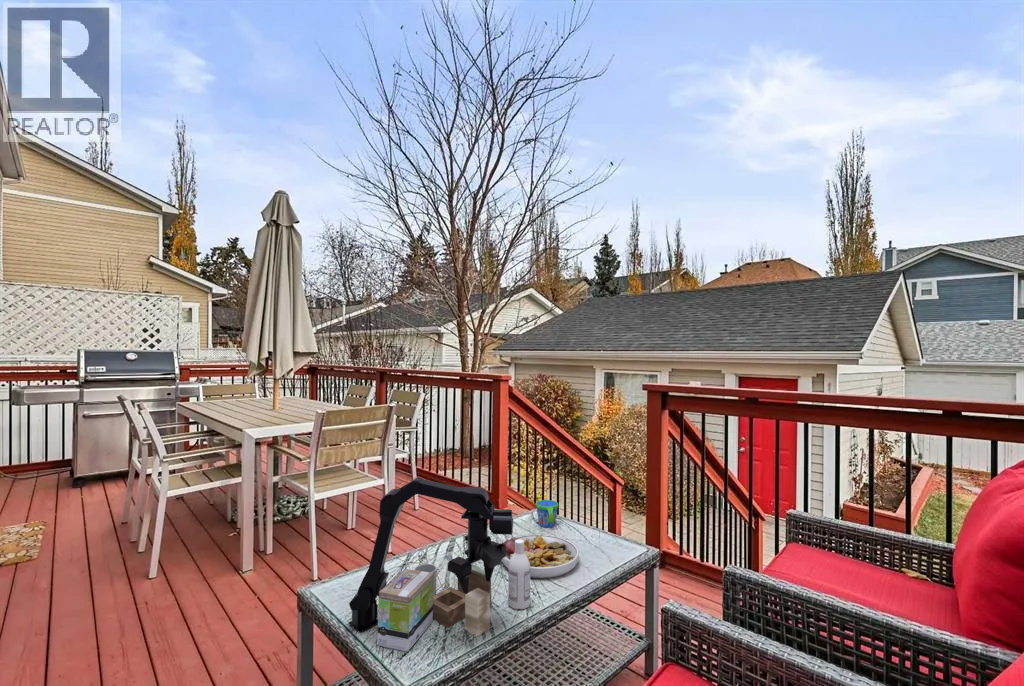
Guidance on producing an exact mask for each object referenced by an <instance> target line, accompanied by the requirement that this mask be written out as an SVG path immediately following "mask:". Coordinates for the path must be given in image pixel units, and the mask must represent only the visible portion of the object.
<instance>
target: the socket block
mask: <svg viewBox="0 0 1024 686" xmlns="http://www.w3.org/2000/svg"><path fill="white" fill-rule="evenodd" d="M470 572H472V574H471V575H470V576H469V586H468V593H469V592H471V591H473V590H475V589H476V588H479V589H481V590H483V591H485V592H487V593H490V608H491V607H492V578H491V579H490V581H489V582H488V581H486V577H485V570H484V567H483V568H482V567H480V566H478V565H476V564H472V569H471V571H470ZM464 619H465V593H464V591H463V589H462V587H461V585H460V583H459V580H458V579H457V589H456V588H454V587H452V586H450V587H447V588H446V589H443V590H442V591H440V592H437V593H436V595H434V596H433V620H434V621H435V622H438V623H440V624H441V625H443V626H445V627H447V628H449V627H450V628H451V626H453V625H455V624H457V623H458V622H460V621H462V620H464Z"/></svg>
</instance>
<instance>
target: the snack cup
mask: <svg viewBox="0 0 1024 686" xmlns="http://www.w3.org/2000/svg"><path fill="white" fill-rule="evenodd" d="M535 508H536V513H537V519H538V520H537V521H538V524H539V525H540V527H543V528H552V527H555V526H556V523H557V522H556V520H557V516H558V515H557V514H558V508H559V502H557V501H556V500H551V499H541V500H538V501H536V502H535Z"/></svg>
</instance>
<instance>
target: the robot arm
mask: <svg viewBox="0 0 1024 686" xmlns="http://www.w3.org/2000/svg"><path fill="white" fill-rule="evenodd" d="M416 495H418V496H419V495H420V496H424V497H425V496H426V497H429V498H432V499H437V500H441V501H446V502H450V503H454V504H456V505H458V506H460V507H461V508H462V509H464V510H465V511H464V512H462V514H461V516H460V518H461V519H462V520H463V519H465V520H467V535H465V536H464V541H466V542H467V549H466V550H464V555H465V556H467V558H464V557H461V556H457V557H454V558H452V559H450V560H449V561H448V562H447V571H448V572H450V573H452V574H454V575H455V576H456V578H457V581H458V580H459V583H460V585H461V587H462V589H463V591H464V593H465V594H468V586H469V576H470V575H471V574H472V572H470V571H471V569H472V564H473V565H475V564H476V563H478V562H480V561H482V562H483V569H484V570H485V577H486V581H488V582H489V581H490V579H491V580H492V576H493V573H494V570H495V567H497V566H500V565H501V564H502V558H504V557H506V545H505V544H504V542H501V543H499V542H497V541H494V540H492V538H491V536H490V535H488V530H489V531H490V533H491V534H492V535H507V536H508V535H510V536H512V535H513V533H514V532H513V531H514V518H513V510H512V509H495V508H496V507H495V505H494V504H493V502H492V501H491V500H490V499H489V498H490V497H489V493H488V491H487V490H486V488H484V487H481V486H463V487H462V486H461V487H460V486H455V485H451V484H446V483H442V482H437V481H433V480H428V479H424V478H422V477H420V476H419V477H418V476H417V477H415V478H414V479H412V480H411V481H410V482H408V483H406V484H404V485H403V486H401V487H400V488H393V489H391V490H389V491H388V492H387V493H386V494H385V495H384V496H383V497H381V499H380V502H379V513H378V514H379V515H378V516H379V521H380V522H379V526H378V531H377V534H376V539H375V542H374V546H373V549H372V550H373V551H372V555H371V557H370V563H369V566H368V569H367V571H366V572H365V575H364V576H363V578H362V581H361V583H360V585H359V587H358V589H357V592H356V593H355V595H354V596H353V597H352V599H351V600H350V601H349V603H348V605H349V607H350V608H349V609H350V611H351V621H349V622H348V625H349V624H350V625H351V626H350V625H349V626H350V627H351V628H353V627H354V628H355V629H354V628H353V629H354V630H356V631H357V632H358V631H359V632H358V633H362V632H366V631H367V630H369V629H371V628H372V627H374V626H376V625H377V626H378V606H379V603H378V604H377V602H378V601H377V598H378V597H379V592H380V591H381V590H382V589H383V588H384V587H385V586H386V585H388V583H387V580H388V577H389V573H390V572H388V571H386V570H385V564H386V561H387V556H388V552H389V549H390V544H391V541H392V537H393V534H394V533H393V532H394V530H395V529H394V528H395V525H396V521H397V519H398V517H399V515H400V513H401V511H402V509H403V507H404V505H405V503H406V502H408V501H409V500H410V499H411V498H414V496H416ZM488 520H489V523H488ZM488 526H489V527H488Z"/></svg>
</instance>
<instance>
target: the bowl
mask: <svg viewBox="0 0 1024 686" xmlns="http://www.w3.org/2000/svg"><path fill="white" fill-rule="evenodd" d="M518 539H521V540H523V541H524V553H525V555H526V556H527V558H528V560H529V563H530V578H534V579H549V578H555V577H559V576H562V575H565V574H567V573H569V572H570V571H572V570H573V568H574V567H575V566H577V563H578V561H579V550H578V547H577V546H576V545H575V544H574V543H573V542H571V541H569V540H567V539H565V538H562V537H558V536H555V535H548V534H526V535H520V536H516V537H511V538H510V539H507V540H505V541H504V542H503V543H504V544H505V545H506V557H504V558H502V561H501V563H503V565H504V566H505V567H506V568H507V570H509V562H510V559H511V557H512V556H513V554H514V553H515V540H518Z"/></svg>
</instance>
